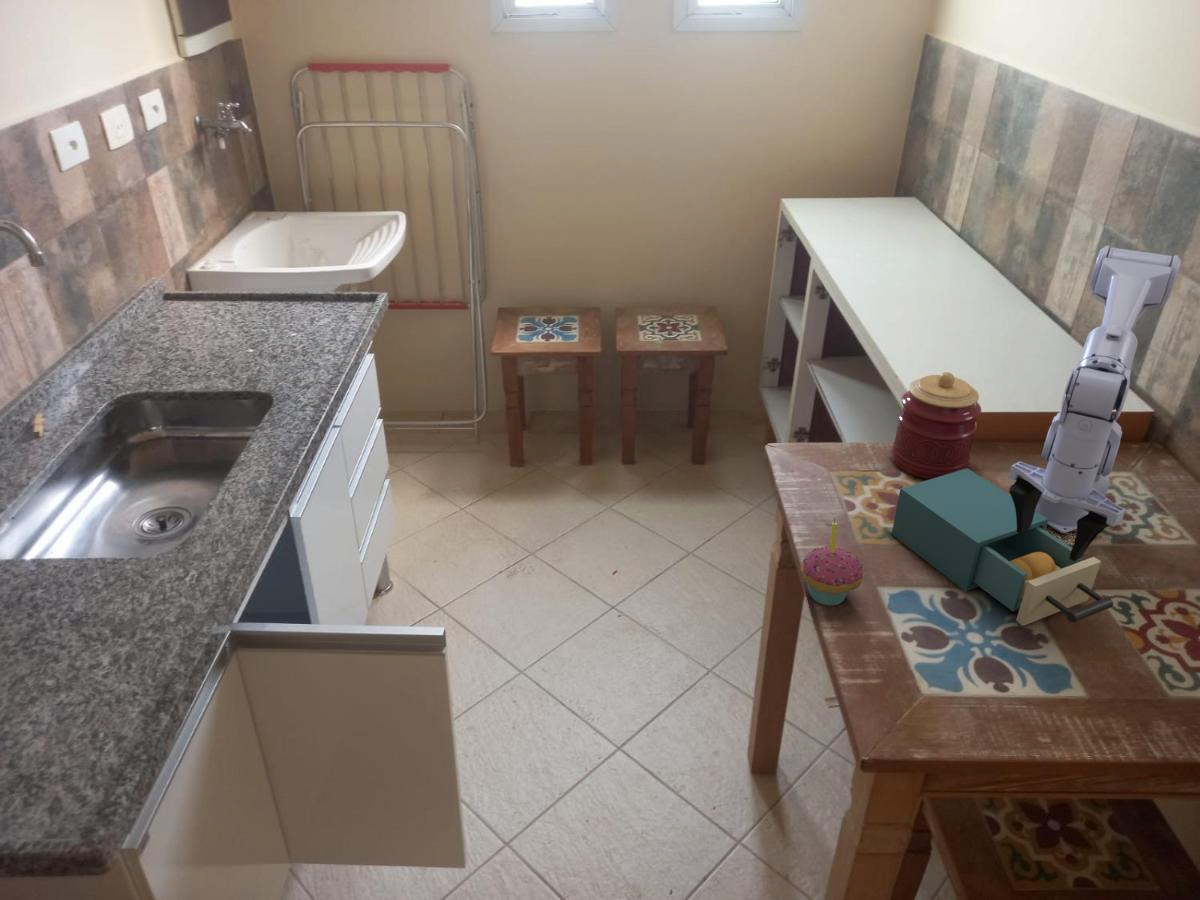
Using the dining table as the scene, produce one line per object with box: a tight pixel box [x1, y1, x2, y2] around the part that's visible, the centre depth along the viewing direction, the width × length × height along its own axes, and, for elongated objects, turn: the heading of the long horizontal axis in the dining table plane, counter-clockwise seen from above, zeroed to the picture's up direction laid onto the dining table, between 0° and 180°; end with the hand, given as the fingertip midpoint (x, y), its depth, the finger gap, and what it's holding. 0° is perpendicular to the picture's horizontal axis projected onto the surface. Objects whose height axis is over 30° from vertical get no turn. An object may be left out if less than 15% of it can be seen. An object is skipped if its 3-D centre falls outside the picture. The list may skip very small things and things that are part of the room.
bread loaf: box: [1010, 552, 1061, 599], centre depth 123 cm, size 8×4×4 cm, turn 115°
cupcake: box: [800, 517, 865, 606], centre depth 122 cm, size 9×8×12 cm
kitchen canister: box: [891, 371, 982, 480], centre depth 152 cm, size 13×13×18 cm
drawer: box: [972, 526, 1114, 627], centre depth 122 cm, size 19×12×7 cm, turn 25°
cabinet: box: [891, 467, 1049, 592], centre depth 132 cm, size 16×14×9 cm
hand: (1048, 543), depth 119 cm, fingers open, 7 cm apart
